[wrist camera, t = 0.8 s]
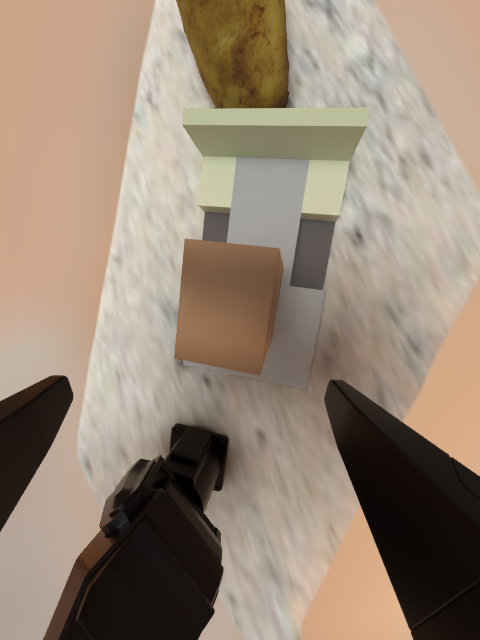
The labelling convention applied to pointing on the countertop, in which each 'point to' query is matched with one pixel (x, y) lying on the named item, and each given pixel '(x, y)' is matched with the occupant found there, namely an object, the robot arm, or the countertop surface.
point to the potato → (239, 50)
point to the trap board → (278, 208)
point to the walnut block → (228, 304)
